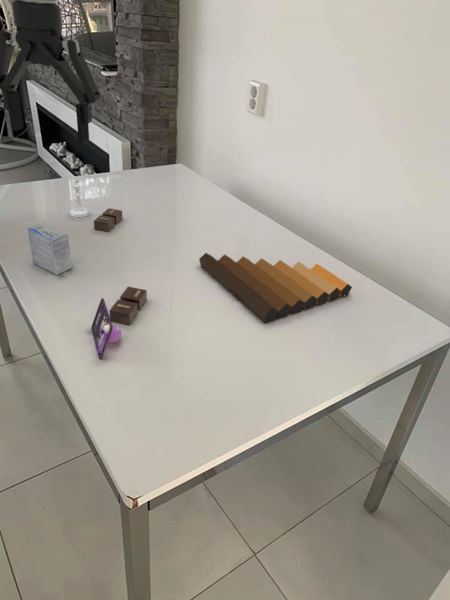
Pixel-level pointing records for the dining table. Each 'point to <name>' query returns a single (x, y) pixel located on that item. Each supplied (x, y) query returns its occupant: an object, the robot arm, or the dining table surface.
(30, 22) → the robot arm
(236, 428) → the dining table surface
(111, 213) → the brown block
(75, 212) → the chess piece
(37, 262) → the medicine box
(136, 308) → the brown segmented bar
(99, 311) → the game card
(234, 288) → the pan flute
